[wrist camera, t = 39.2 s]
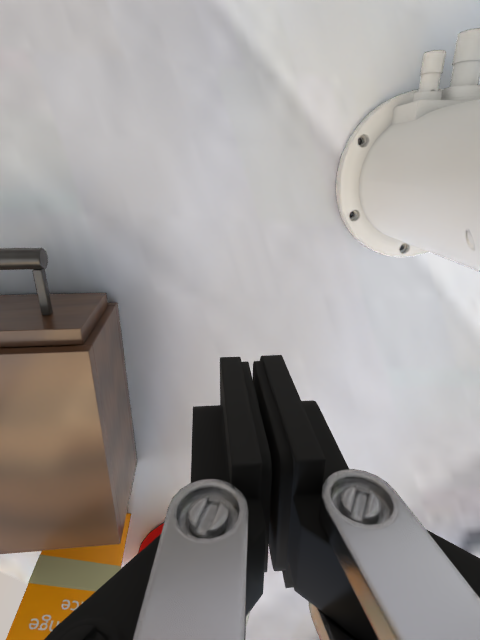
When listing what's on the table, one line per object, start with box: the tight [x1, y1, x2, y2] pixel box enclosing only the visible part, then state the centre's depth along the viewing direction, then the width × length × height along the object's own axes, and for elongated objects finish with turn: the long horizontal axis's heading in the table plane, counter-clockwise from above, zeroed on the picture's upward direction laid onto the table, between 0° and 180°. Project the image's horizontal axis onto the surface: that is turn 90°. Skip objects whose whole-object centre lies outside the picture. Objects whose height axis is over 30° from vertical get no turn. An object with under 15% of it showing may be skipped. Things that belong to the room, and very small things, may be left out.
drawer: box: [0, 248, 108, 348], centre depth 30 cm, size 21×12×7 cm, turn 179°
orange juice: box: [6, 513, 131, 640], centre depth 34 cm, size 8×9×20 cm
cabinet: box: [0, 302, 137, 554], centre depth 31 cm, size 18×13×9 cm
